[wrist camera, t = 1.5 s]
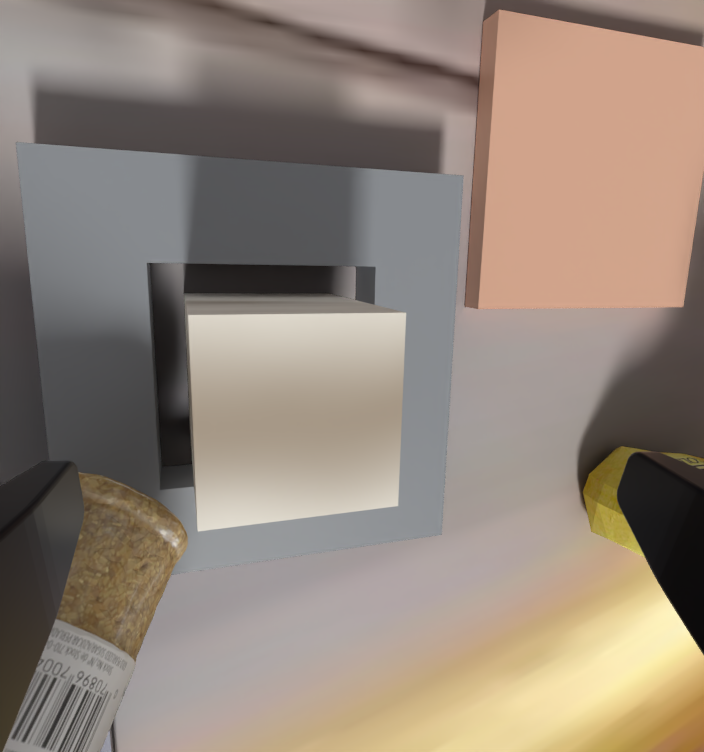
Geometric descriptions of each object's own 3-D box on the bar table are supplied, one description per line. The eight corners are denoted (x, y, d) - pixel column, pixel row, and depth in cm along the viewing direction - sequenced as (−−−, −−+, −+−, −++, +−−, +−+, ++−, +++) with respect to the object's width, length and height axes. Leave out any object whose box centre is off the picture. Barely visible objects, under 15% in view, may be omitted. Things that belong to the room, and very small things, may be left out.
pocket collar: (419, 511, 22) (441, 534, 21) (74, 557, 19) (62, 591, 17) (436, 183, 20) (463, 175, 18) (34, 155, 16) (15, 141, 14)
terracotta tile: (663, 304, 24) (683, 307, 23) (464, 306, 21) (478, 308, 20) (698, 59, 22) (721, 50, 21) (483, 21, 19) (499, 9, 18)
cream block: (327, 426, 20) (398, 506, 14) (190, 436, 19) (197, 531, 12) (328, 293, 19) (406, 312, 13) (183, 293, 18) (187, 314, 11)
